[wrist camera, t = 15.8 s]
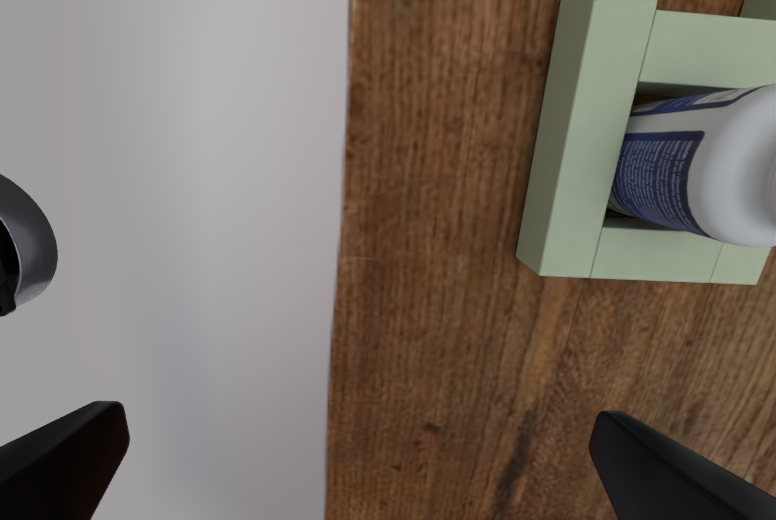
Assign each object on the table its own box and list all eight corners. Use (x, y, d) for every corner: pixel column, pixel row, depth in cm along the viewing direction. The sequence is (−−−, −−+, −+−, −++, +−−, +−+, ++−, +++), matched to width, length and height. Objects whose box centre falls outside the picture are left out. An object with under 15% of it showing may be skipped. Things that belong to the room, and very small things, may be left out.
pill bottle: (631, 231, 20) (863, 310, 10) (560, 174, 19) (749, 205, 9) (708, 146, 18) (1048, 149, 9) (637, 79, 17) (944, 6, 8)
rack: (514, 257, 20) (538, 276, 17) (599, -228, 14) (659, -323, 11) (703, 265, 20) (757, 285, 18) (863, -193, 14) (983, -275, 12)
